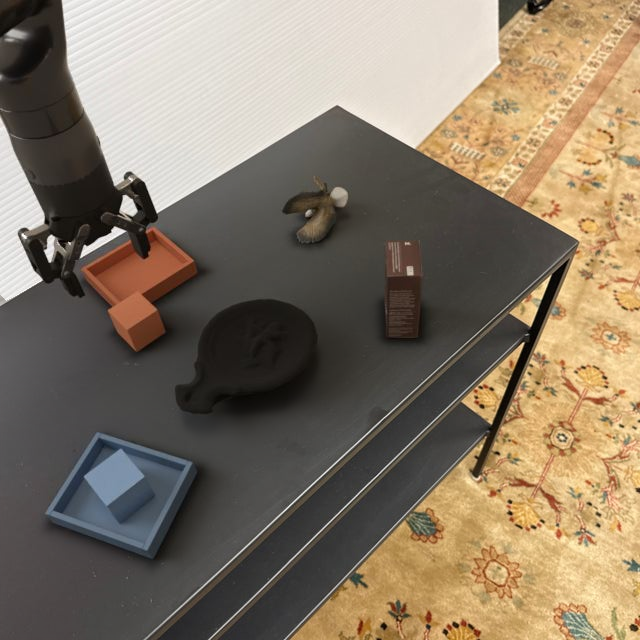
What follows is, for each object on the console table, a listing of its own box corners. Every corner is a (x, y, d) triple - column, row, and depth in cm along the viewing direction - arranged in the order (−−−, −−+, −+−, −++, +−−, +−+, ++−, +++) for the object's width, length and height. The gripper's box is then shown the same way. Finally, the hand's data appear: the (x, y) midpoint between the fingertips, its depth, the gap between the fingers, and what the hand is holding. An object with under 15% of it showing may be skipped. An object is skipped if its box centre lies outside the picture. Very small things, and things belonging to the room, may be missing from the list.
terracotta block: (136, 352, 83) (127, 330, 80) (117, 332, 86) (107, 310, 82) (165, 332, 85) (157, 309, 82) (146, 313, 88) (137, 290, 84)
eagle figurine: (301, 191, 101) (270, 217, 95) (325, 162, 96) (294, 188, 89) (335, 225, 101) (307, 253, 95) (361, 199, 96) (333, 227, 90)
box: (382, 304, 87) (385, 239, 78) (415, 304, 87) (422, 238, 77) (383, 339, 83) (386, 275, 74) (418, 340, 83) (426, 275, 73)
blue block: (119, 524, 68) (106, 506, 65) (96, 495, 70) (83, 476, 67) (155, 495, 70) (145, 476, 67) (132, 467, 72) (120, 448, 69)
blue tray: (53, 523, 69) (44, 513, 67) (103, 442, 75) (96, 431, 73) (153, 559, 66) (147, 550, 64) (197, 472, 72) (193, 462, 70)
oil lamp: (147, 388, 80) (137, 364, 76) (263, 299, 88) (259, 274, 84) (225, 462, 73) (218, 440, 69) (343, 358, 81) (342, 334, 78)
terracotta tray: (124, 319, 87) (119, 307, 85) (86, 280, 92) (80, 268, 90) (197, 273, 92) (194, 260, 90) (157, 238, 97) (153, 226, 95)
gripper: (105, 112, 67) (145, 228, 79) (-25, 174, 61) (40, 289, 74) (145, 141, 63) (180, 258, 76) (11, 211, 57) (72, 325, 70)
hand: (111, 273), depth 75 cm, fingers open, 8 cm apart
